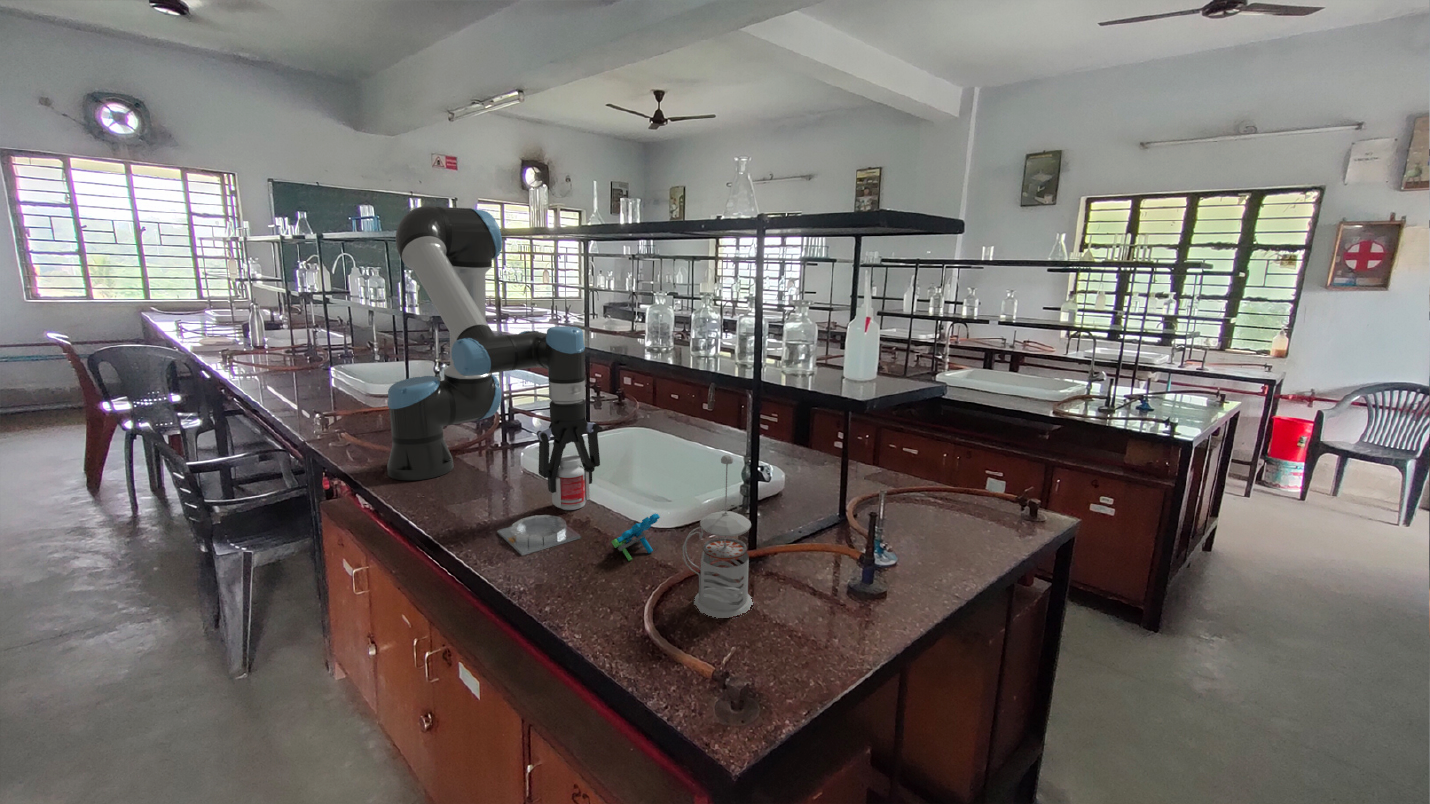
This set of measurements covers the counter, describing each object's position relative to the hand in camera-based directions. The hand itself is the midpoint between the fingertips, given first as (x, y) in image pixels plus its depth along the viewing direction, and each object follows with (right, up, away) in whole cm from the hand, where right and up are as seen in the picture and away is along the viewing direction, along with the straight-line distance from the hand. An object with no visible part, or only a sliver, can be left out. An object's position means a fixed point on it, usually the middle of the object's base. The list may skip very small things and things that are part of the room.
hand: (571, 501), depth 138 cm
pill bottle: (0, -1, 0) cm, 1 cm away
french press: (+32, -11, -37) cm, 50 cm away
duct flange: (-3, -4, -15) cm, 16 cm away
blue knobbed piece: (+17, -6, -20) cm, 26 cm away
